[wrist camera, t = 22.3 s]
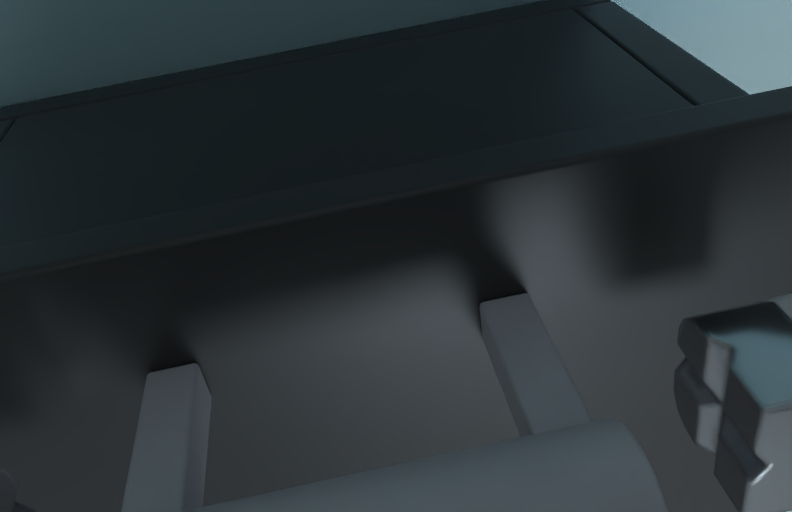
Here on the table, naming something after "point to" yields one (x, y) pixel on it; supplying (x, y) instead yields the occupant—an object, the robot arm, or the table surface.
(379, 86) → the black storage bin
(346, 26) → the table surface
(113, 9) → the table surface
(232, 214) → the black bin lid
